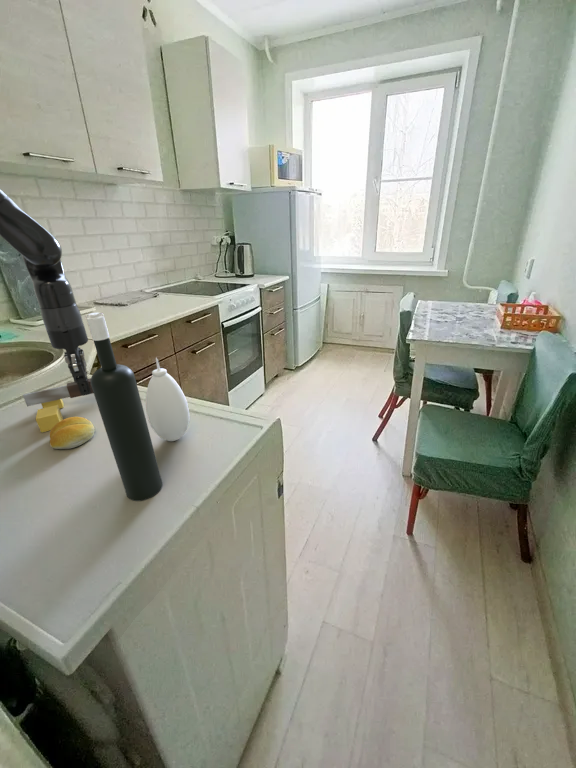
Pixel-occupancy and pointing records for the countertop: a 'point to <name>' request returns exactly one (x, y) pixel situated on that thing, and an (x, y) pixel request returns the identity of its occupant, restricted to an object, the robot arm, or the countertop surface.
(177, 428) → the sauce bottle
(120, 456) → the wine bottle
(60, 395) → the knife
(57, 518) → the countertop surface
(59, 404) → the butter pat
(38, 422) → the butter block
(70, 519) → the countertop surface
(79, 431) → the bread roll
